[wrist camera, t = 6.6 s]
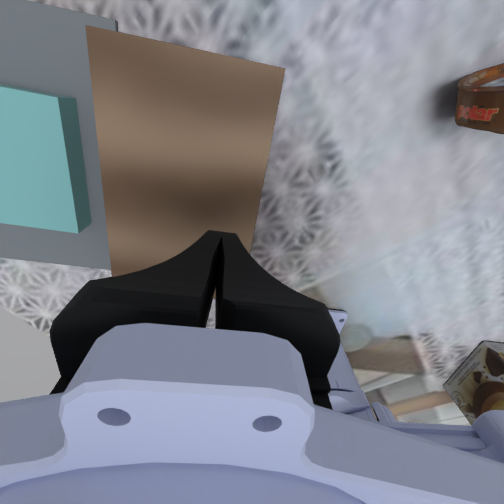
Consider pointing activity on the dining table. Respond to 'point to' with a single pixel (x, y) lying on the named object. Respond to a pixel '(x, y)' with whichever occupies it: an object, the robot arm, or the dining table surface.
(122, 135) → the brown wooden block
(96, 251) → the mat
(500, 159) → the dining table surface
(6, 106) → the teal block
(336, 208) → the dining table surface
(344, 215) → the dining table surface
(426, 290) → the dining table surface
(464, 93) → the tin
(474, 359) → the coffee box
